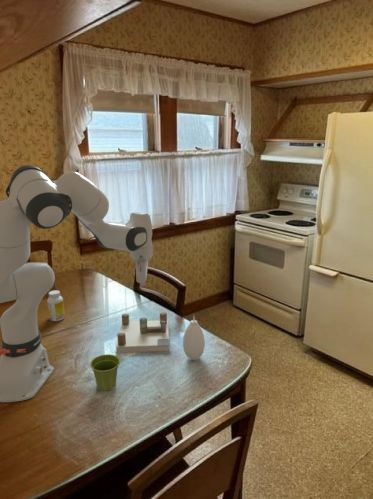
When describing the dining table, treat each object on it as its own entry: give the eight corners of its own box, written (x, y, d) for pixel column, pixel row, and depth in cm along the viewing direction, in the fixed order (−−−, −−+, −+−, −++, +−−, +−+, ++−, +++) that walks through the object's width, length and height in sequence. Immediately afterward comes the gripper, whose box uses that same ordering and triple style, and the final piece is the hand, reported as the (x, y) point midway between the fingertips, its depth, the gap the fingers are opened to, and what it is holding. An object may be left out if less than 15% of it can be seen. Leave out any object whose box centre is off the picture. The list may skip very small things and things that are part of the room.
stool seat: (170, 351, 140) (169, 336, 138) (116, 353, 139) (115, 338, 137) (169, 325, 160) (168, 311, 158) (121, 326, 158) (121, 313, 156)
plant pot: (108, 372, 127) (107, 350, 125) (127, 383, 122) (125, 361, 119) (86, 386, 120) (84, 363, 118) (104, 398, 115) (102, 374, 112)
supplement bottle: (67, 315, 169) (64, 289, 165) (61, 322, 162) (58, 295, 159) (53, 314, 169) (50, 289, 166) (46, 321, 163) (43, 295, 159)
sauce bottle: (186, 366, 131) (186, 321, 125) (180, 354, 138) (180, 311, 133) (207, 362, 133) (207, 318, 127) (200, 351, 140) (201, 308, 135)
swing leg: (166, 332, 148) (165, 320, 146) (139, 333, 147) (139, 321, 145) (165, 329, 150) (165, 316, 149) (140, 329, 150) (139, 317, 148)
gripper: (148, 260, 136) (149, 294, 140) (150, 245, 155) (151, 275, 159) (131, 260, 135) (133, 295, 139) (135, 245, 155) (136, 276, 159)
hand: (143, 284), depth 149 cm, fingers closed
